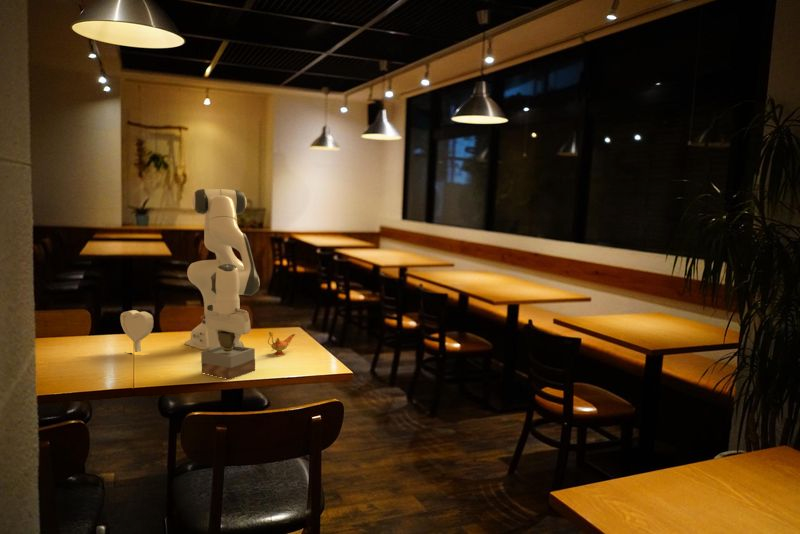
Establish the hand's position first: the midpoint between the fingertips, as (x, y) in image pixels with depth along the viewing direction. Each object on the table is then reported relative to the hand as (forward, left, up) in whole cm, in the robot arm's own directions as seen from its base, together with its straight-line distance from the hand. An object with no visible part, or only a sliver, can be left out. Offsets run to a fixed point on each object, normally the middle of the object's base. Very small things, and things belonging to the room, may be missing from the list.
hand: (227, 342), depth 229 cm
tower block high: (0, 0, -7) cm, 7 cm away
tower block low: (0, 0, -12) cm, 12 cm away
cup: (0, 0, -3) cm, 3 cm away
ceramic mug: (-14, +16, -12) cm, 24 cm away
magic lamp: (-1, +33, -12) cm, 35 cm away
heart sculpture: (-51, -1, -12) cm, 52 cm away
